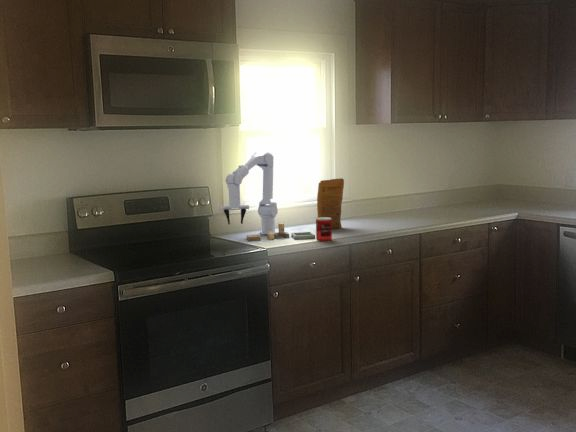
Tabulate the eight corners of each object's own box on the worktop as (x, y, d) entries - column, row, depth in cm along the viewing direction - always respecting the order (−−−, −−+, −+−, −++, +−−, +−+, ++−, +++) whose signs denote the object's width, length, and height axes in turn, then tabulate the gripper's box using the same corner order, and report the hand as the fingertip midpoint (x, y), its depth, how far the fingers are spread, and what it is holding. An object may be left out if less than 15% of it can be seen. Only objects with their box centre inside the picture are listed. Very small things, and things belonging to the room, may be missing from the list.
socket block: (274, 236, 340) (273, 232, 339) (287, 235, 341) (287, 232, 340) (275, 238, 333) (275, 234, 332) (289, 237, 334) (289, 233, 334)
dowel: (278, 236, 338) (277, 223, 337) (284, 236, 338) (283, 223, 338) (279, 237, 335) (278, 224, 334) (284, 237, 335) (284, 223, 335)
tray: (291, 236, 339) (291, 232, 338) (310, 235, 340) (310, 231, 340) (295, 239, 327) (295, 236, 326) (315, 238, 328) (315, 235, 328)
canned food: (322, 238, 328) (321, 216, 327) (335, 239, 323) (334, 217, 322) (313, 240, 322) (312, 218, 321) (326, 241, 317) (325, 219, 316)
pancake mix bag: (348, 227, 364) (347, 178, 361) (320, 231, 354) (319, 180, 351) (341, 226, 370) (340, 177, 366) (313, 229, 360) (312, 179, 357)
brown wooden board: (246, 239, 335) (246, 234, 335) (258, 238, 336) (258, 234, 336) (248, 241, 327) (248, 237, 326) (260, 241, 328) (260, 236, 327)
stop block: (267, 237, 337) (267, 231, 336) (272, 237, 337) (272, 231, 337) (269, 239, 329) (269, 233, 328) (274, 239, 329) (274, 233, 329)
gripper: (220, 198, 323) (221, 225, 324) (249, 197, 325) (250, 224, 326) (219, 197, 329) (220, 223, 331) (248, 196, 332) (249, 222, 333)
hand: (235, 223), depth 329 cm, fingers open, 6 cm apart
